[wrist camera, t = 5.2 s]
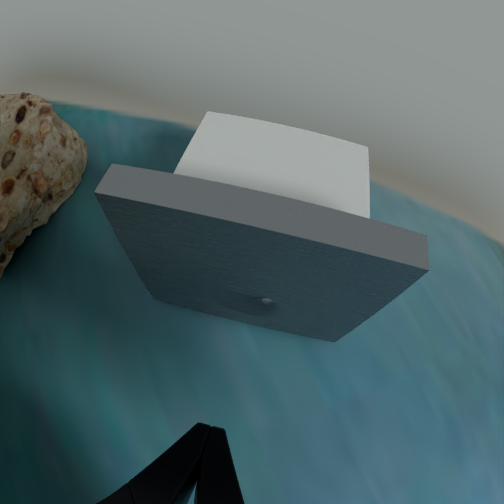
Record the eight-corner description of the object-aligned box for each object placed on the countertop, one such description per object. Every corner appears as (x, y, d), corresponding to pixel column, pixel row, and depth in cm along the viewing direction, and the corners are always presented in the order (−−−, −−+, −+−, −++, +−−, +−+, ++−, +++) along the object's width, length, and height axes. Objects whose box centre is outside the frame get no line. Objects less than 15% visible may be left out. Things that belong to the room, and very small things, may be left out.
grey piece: (335, 342, 16) (429, 270, 8) (153, 298, 16) (93, 191, 8) (348, 204, 20) (400, 96, 12) (204, 170, 21) (199, 52, 13)
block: (323, 288, 18) (369, 220, 12) (189, 256, 18) (172, 174, 12) (330, 225, 20) (368, 147, 14) (211, 197, 20) (207, 111, 14)
